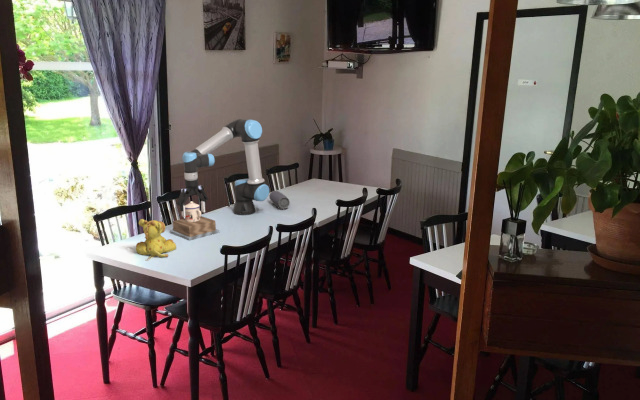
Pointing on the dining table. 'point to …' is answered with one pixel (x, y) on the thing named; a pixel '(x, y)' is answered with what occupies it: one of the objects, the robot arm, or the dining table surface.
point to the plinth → (194, 228)
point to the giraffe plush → (154, 240)
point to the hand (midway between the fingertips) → (193, 214)
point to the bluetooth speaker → (279, 199)
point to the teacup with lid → (192, 212)
